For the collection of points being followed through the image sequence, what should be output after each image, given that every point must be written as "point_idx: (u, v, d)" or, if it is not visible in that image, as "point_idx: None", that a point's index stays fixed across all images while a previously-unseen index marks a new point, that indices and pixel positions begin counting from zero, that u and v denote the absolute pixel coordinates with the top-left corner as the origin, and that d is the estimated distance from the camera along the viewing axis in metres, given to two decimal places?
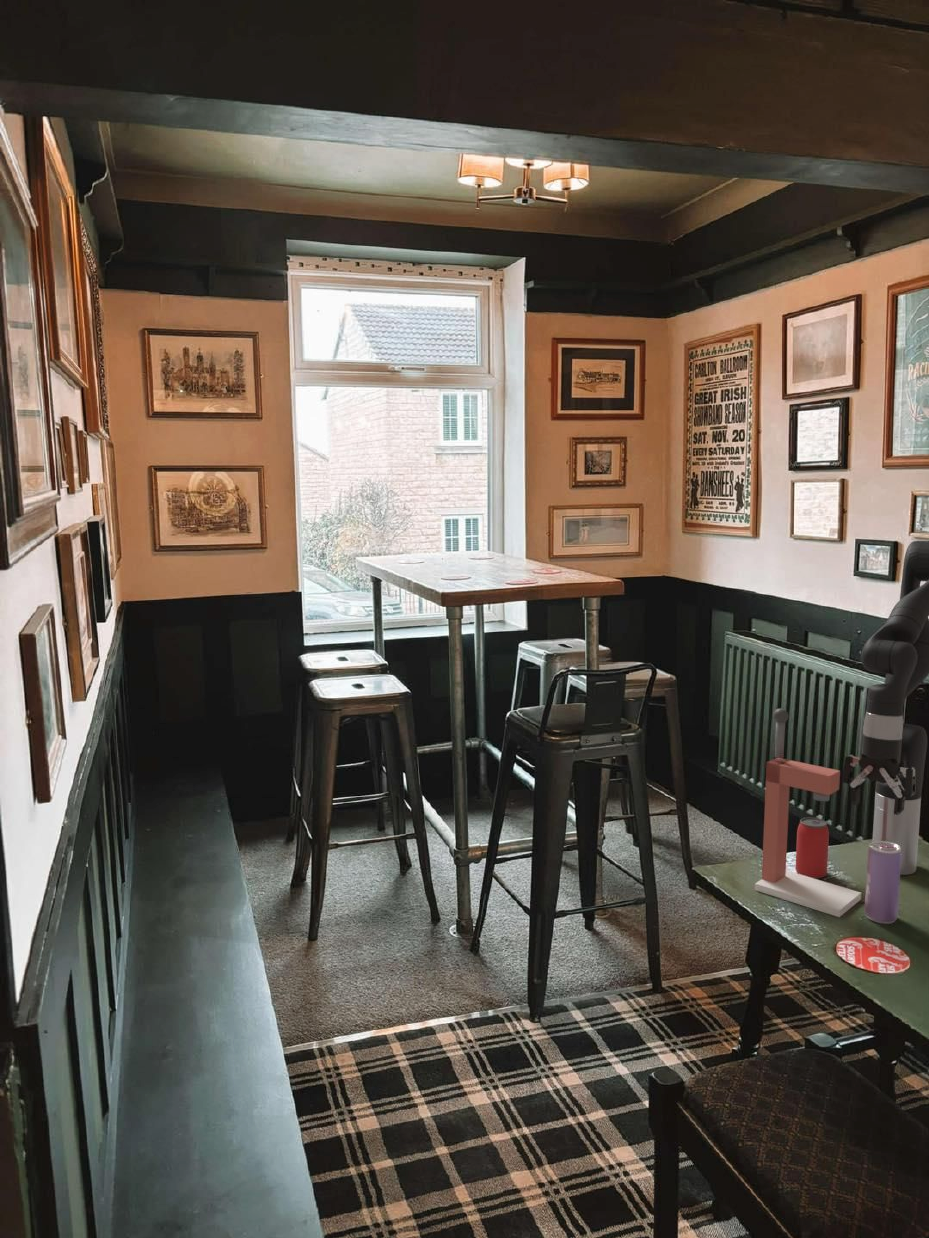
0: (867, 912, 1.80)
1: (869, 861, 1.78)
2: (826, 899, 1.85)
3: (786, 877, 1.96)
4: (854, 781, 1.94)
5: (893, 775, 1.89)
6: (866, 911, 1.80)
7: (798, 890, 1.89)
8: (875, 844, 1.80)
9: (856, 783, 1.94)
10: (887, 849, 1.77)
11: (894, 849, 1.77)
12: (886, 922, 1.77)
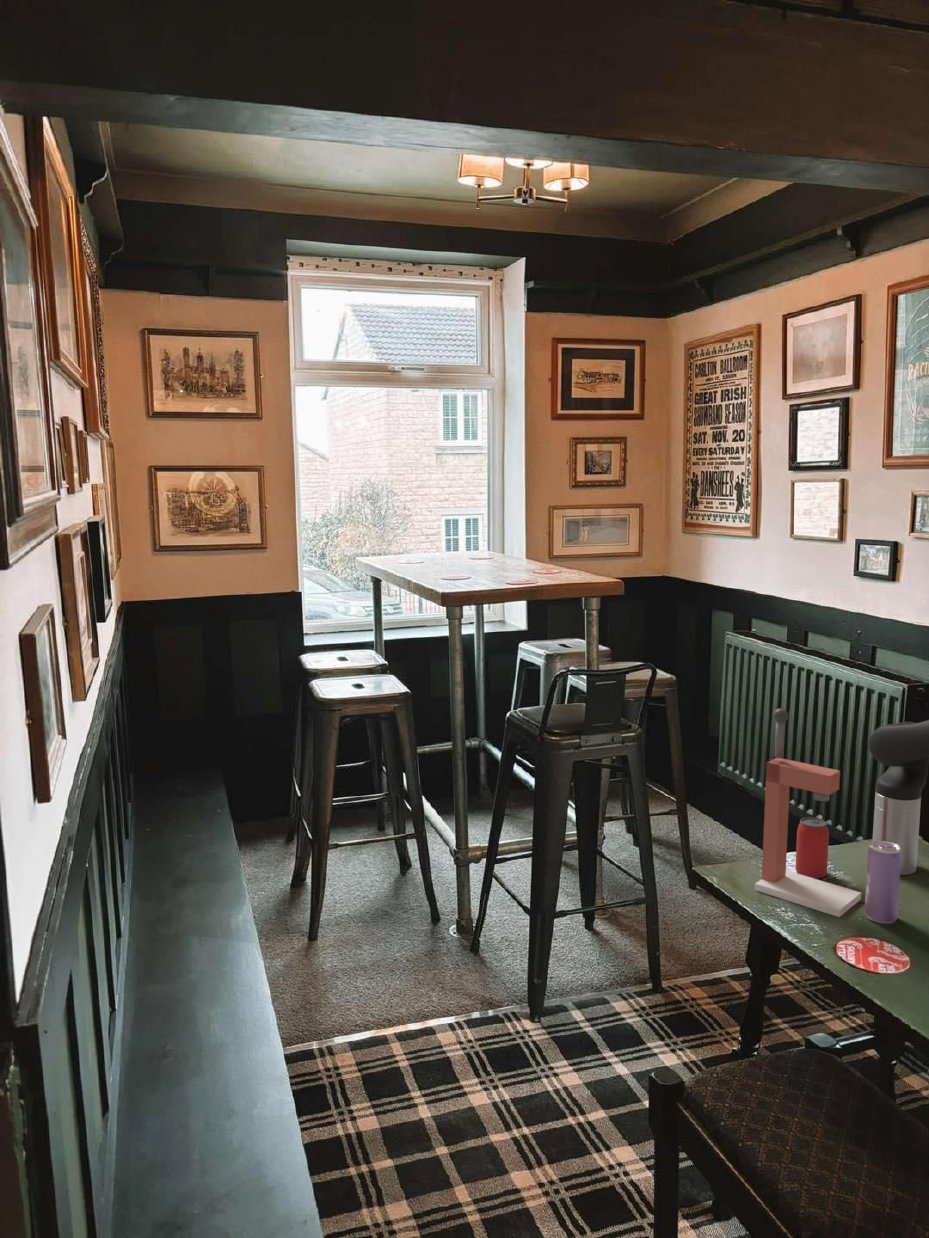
0: (867, 912, 1.80)
1: (869, 861, 1.78)
2: (826, 899, 1.85)
3: (786, 877, 1.96)
4: None
5: None
6: (866, 911, 1.80)
7: (798, 890, 1.89)
8: (875, 844, 1.80)
9: None
10: (887, 849, 1.77)
11: (894, 849, 1.77)
12: (886, 922, 1.77)
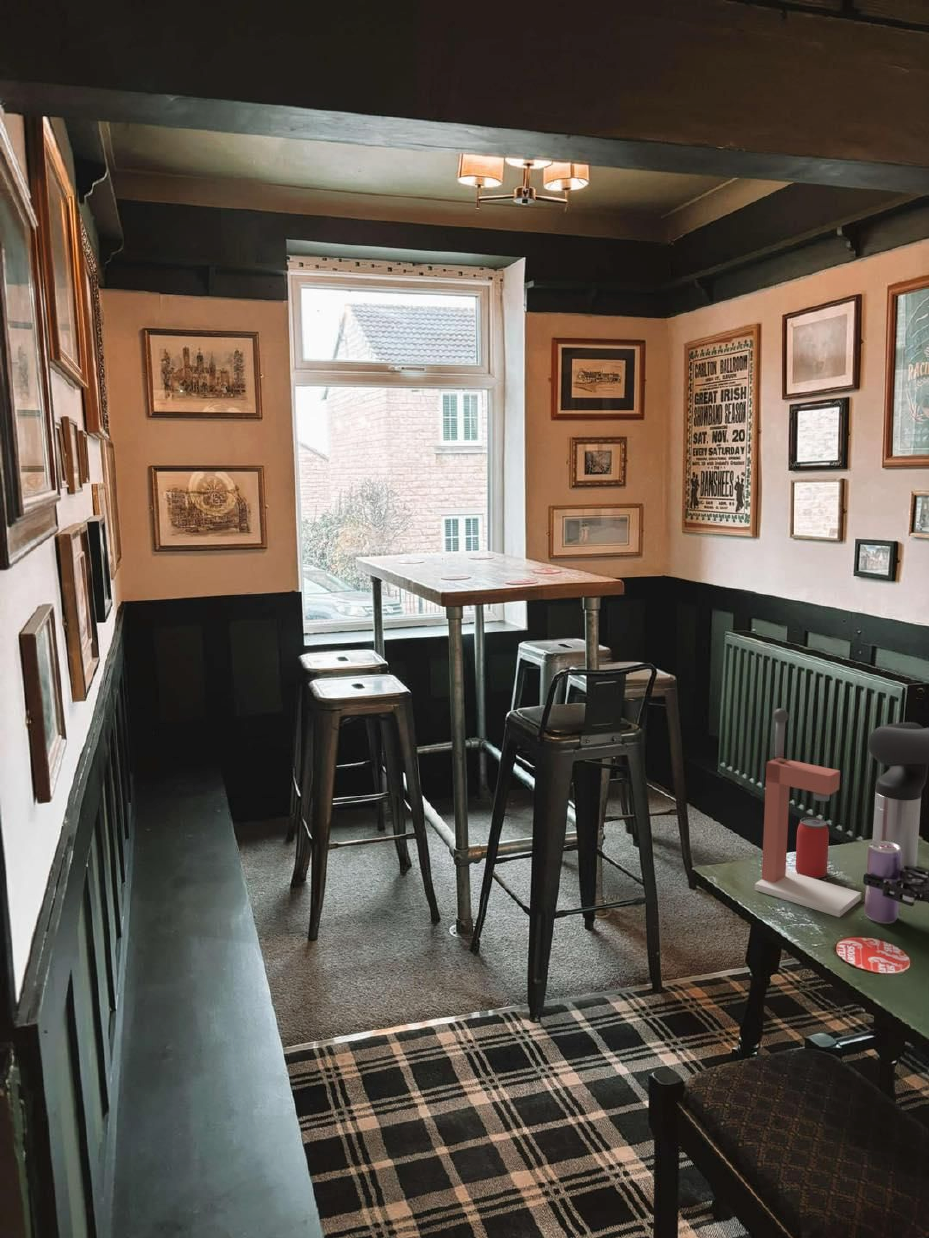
0: (867, 912, 1.80)
1: (869, 861, 1.78)
2: (826, 899, 1.85)
3: (786, 877, 1.96)
4: None
5: None
6: (866, 911, 1.80)
7: (798, 890, 1.89)
8: (875, 844, 1.80)
9: None
10: (887, 849, 1.77)
11: (894, 849, 1.77)
12: (886, 922, 1.77)
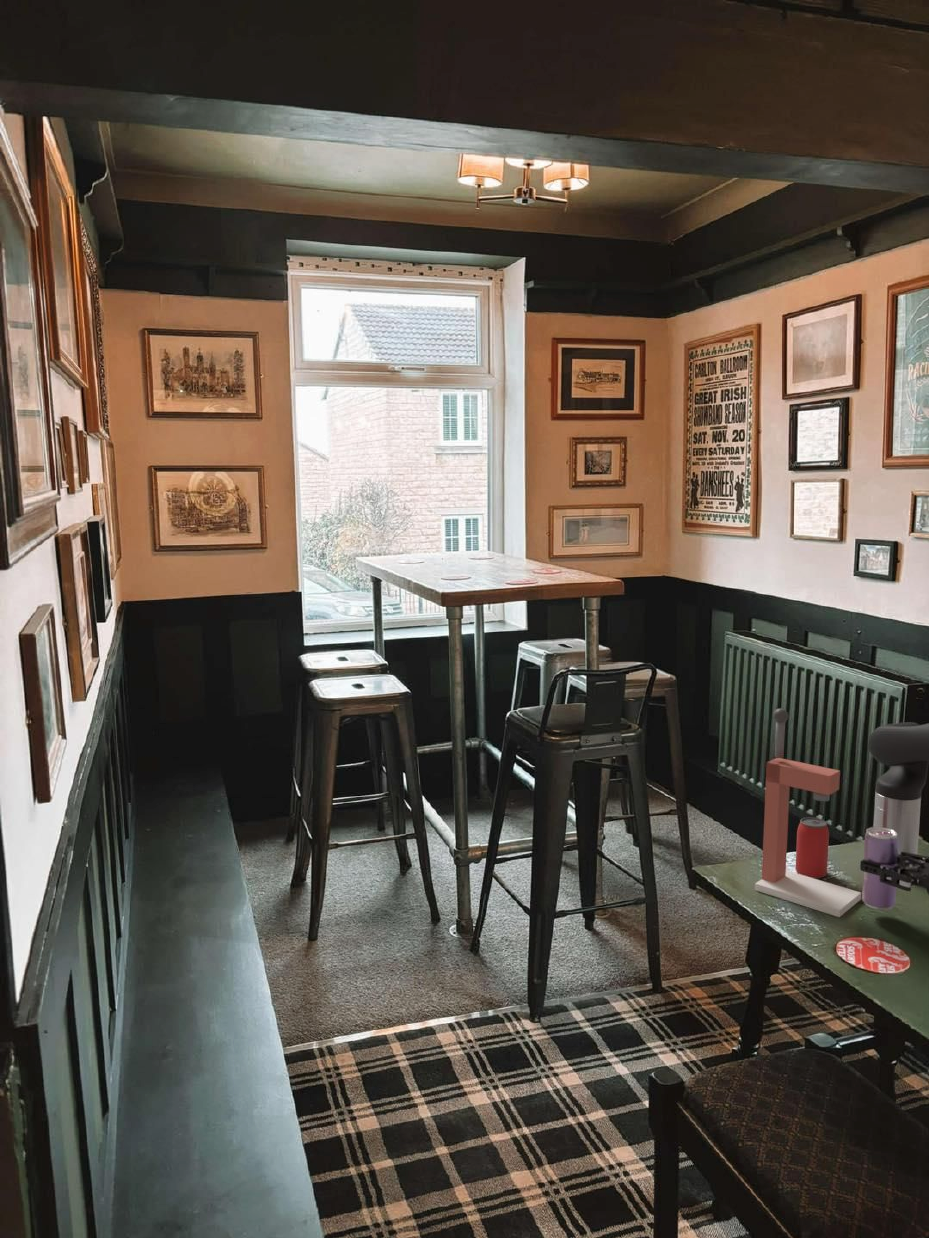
0: (864, 898, 1.80)
1: (866, 847, 1.79)
2: (826, 899, 1.85)
3: (786, 877, 1.96)
4: None
5: None
6: (863, 897, 1.80)
7: (798, 890, 1.89)
8: (872, 830, 1.80)
9: None
10: (884, 835, 1.77)
11: (891, 835, 1.77)
12: (884, 908, 1.77)
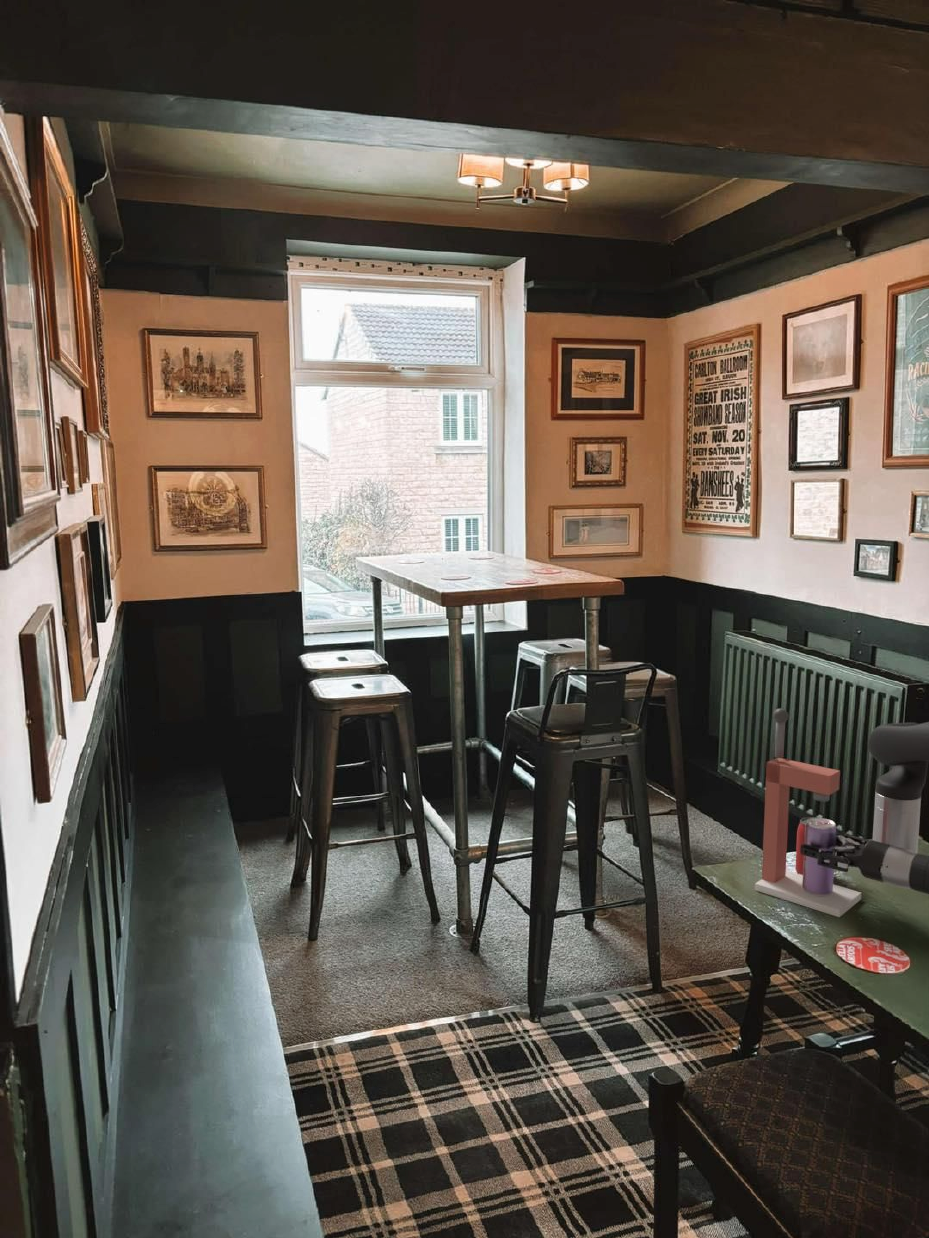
0: (804, 885, 1.88)
1: (806, 837, 1.87)
2: (826, 899, 1.85)
3: (786, 877, 1.96)
4: None
5: None
6: (803, 884, 1.89)
7: (798, 890, 1.89)
8: (812, 821, 1.88)
9: None
10: (823, 825, 1.85)
11: (829, 825, 1.85)
12: (821, 895, 1.86)
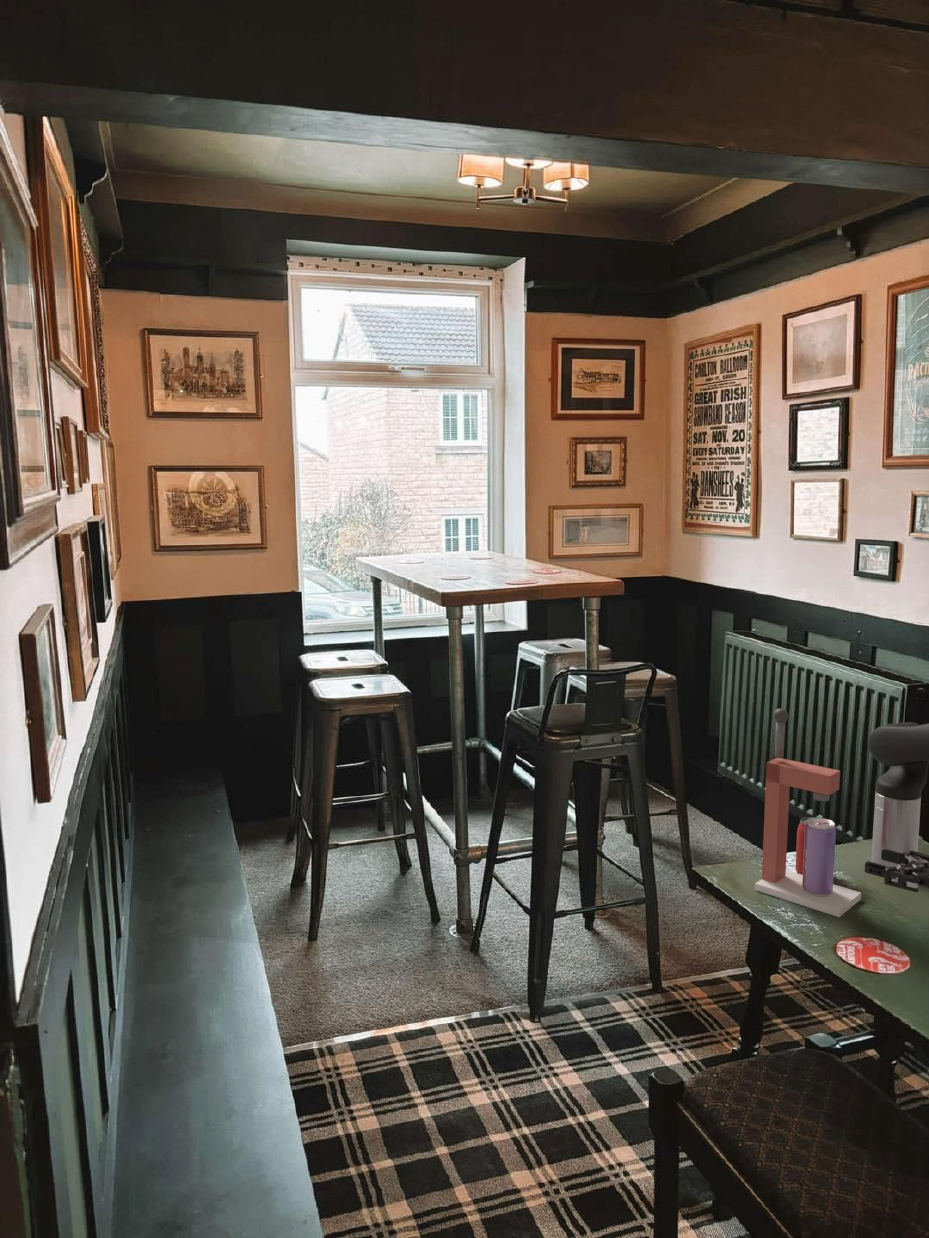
0: (804, 885, 1.88)
1: (805, 837, 1.87)
2: (826, 899, 1.85)
3: (786, 877, 1.96)
4: None
5: None
6: (803, 885, 1.89)
7: (798, 890, 1.89)
8: (812, 821, 1.88)
9: None
10: (822, 825, 1.86)
11: (829, 825, 1.85)
12: (821, 895, 1.86)
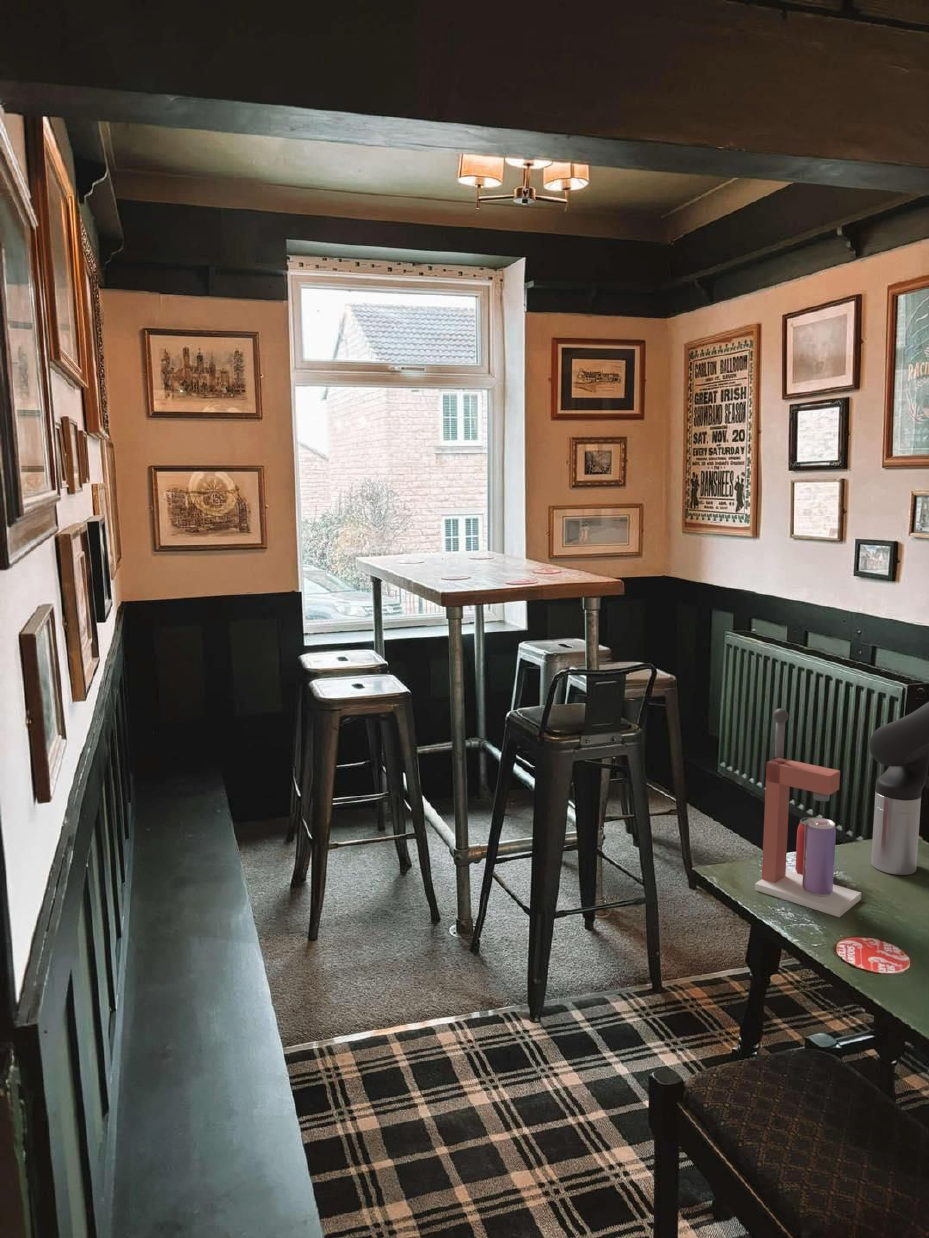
0: (804, 885, 1.88)
1: (805, 837, 1.87)
2: (826, 899, 1.85)
3: (786, 877, 1.96)
4: None
5: None
6: (803, 885, 1.89)
7: (798, 890, 1.89)
8: (812, 821, 1.88)
9: None
10: (822, 825, 1.86)
11: (829, 825, 1.85)
12: (821, 895, 1.86)
